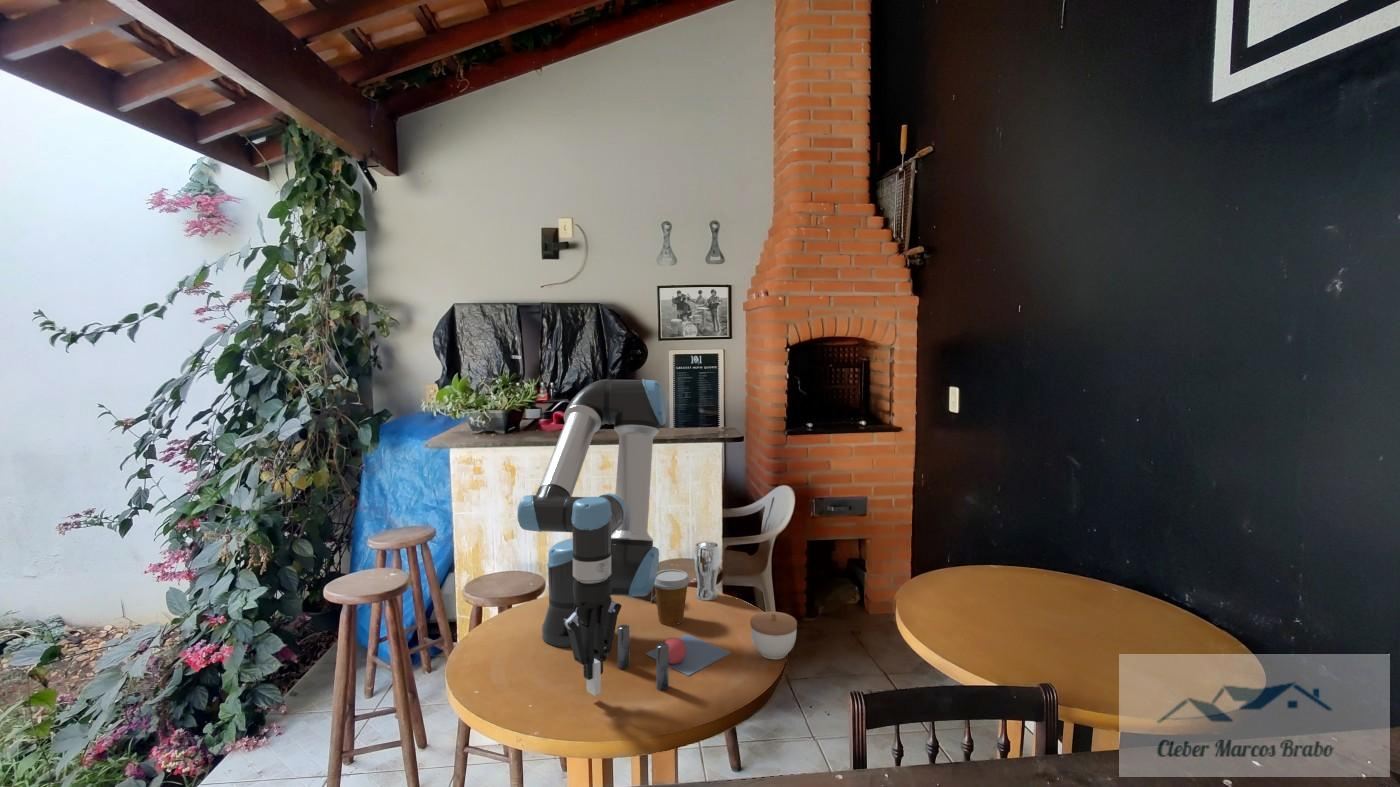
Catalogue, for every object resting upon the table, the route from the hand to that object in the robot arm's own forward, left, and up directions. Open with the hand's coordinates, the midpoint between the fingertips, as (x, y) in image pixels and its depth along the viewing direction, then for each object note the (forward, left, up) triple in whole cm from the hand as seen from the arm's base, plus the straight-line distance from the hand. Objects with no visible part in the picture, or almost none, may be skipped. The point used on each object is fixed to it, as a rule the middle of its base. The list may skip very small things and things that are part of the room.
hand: (593, 691), depth 127 cm
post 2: (+6, +13, -2) cm, 15 cm away
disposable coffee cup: (-16, +37, -2) cm, 40 cm away
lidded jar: (+14, +41, -2) cm, 43 cm away
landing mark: (0, +27, -2) cm, 27 cm away
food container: (-33, +43, -2) cm, 54 cm away
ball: (0, +22, +1) cm, 22 cm away
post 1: (-6, +13, -2) cm, 15 cm away
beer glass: (-20, +55, -2) cm, 59 cm away
